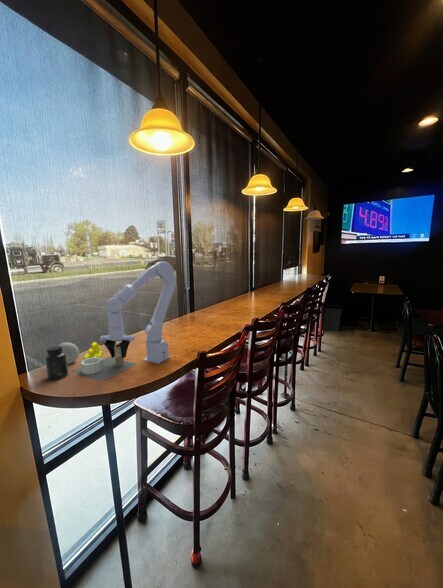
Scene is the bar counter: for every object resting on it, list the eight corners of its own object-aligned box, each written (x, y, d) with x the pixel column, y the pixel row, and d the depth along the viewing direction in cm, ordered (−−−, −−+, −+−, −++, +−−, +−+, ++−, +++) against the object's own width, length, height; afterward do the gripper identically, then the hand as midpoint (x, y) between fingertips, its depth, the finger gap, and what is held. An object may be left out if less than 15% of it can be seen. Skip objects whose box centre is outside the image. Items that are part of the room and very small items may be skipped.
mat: (137, 365, 106) (137, 364, 106) (100, 382, 92) (100, 381, 92) (109, 357, 116) (109, 356, 116) (72, 372, 102) (72, 371, 101)
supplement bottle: (46, 377, 98) (42, 348, 96) (66, 371, 102) (62, 343, 101) (49, 383, 93) (45, 352, 91) (70, 376, 97) (67, 347, 96)
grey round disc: (53, 367, 107) (50, 345, 105) (56, 364, 110) (53, 342, 108) (79, 364, 109) (76, 342, 108) (81, 361, 113) (78, 340, 111)
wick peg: (123, 364, 106) (122, 344, 105) (116, 366, 105) (114, 346, 104) (122, 362, 109) (121, 342, 108) (115, 363, 107) (113, 344, 106)
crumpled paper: (82, 360, 114) (80, 344, 113) (98, 354, 121) (96, 339, 120) (89, 362, 111) (88, 346, 110) (105, 356, 118) (104, 340, 117)
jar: (107, 368, 103) (106, 359, 102) (89, 376, 97) (88, 366, 96) (95, 365, 107) (94, 355, 106) (78, 372, 100) (77, 362, 100)
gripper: (136, 323, 108) (139, 353, 109) (105, 323, 109) (108, 353, 111) (128, 328, 101) (131, 360, 102) (95, 328, 103) (98, 359, 104)
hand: (119, 357), depth 106 cm, fingers closed on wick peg, 4 cm apart
